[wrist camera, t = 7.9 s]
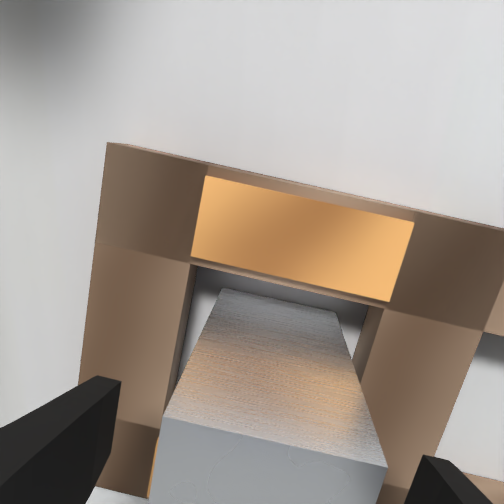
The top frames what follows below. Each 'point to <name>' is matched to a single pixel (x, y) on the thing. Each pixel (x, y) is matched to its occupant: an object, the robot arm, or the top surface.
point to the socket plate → (292, 275)
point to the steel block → (268, 413)
